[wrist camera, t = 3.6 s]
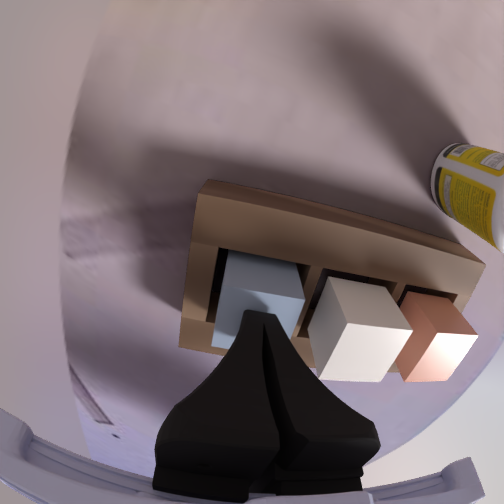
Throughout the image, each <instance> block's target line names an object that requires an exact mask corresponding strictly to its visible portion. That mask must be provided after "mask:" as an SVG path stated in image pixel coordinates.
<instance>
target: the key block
mask: <svg viewBox="0 0 504 504" xmlns="http://www.w3.org/2000/svg"><path fill="white" fill-rule="evenodd" d="M220 248H225V249H230V250H235V251H240V252H245V253H251V254H256V255H261V256H266V257H271V258H276V259H281V260H286V261H291V262H296V266H297V270H298V274H299V277H300V281H301V285H302V289H303V293H304V297H305V302H304V305H303V307H302V310H301V313H300V315H299V318H298V321H297V323H296V326H295V328H294V331H293V334H292V336H291V339H290V341H291V342H292V344H293V346H294V347H295V349H296V351H297V352H298V354H299V355H300V357H301V358H302V359H303V361H304V362H305V364H306V365H307V366H308V367H310V368H316V366H315V361H314V356H313V352H312V347H311V343H310V338H309V334H308V326H309V324H310V322H311V319H312V317H313V314H314V312H315V309H310V308H308V307H309V304H310V301H311V299H312V296H313V294H314V291H315V288H316V285H317V283H318V280H319V277H320V275H321V272H322V269H323V268H327V269H332V270H337V271H342V272H347V273H352V274H357V275H362V276H368V277H370V279H369V281H368V283H367V284H372V285H377V286H382V287H386V289H387V290H388V292H389V293H390V295H391V296H392V298H393V299H394V301H395V303H396V304H397V302H398V300H399V298H400V296H401V294H402V292H403V290H404V288H405V286H406V284H409V285H414V286H419V287H424V288H428V289H427V291H426V293H425V294H427V295H432V296H438V297H443V298H448V299H449V300H450V301H451V302H452V303H453V305H454V306H455V307H456V308H457V309H458V311H459V312H460V313H462V311H463V310H464V308H465V306H466V304H467V302H468V300H469V299H470V297H471V295H472V293H473V291H474V289H475V287H476V285H477V283H478V281H479V279H480V277H481V275H482V273H483V271H484V269H485V267H486V264H485V263H483V262H482V261H481V260H480V259H479V258H477V257H476V256H475V255H474V254H473V253H471V252H470V251H469V250H468V249H466V248H465V247H464V246H463V245H461V244H458V243H455V242H452V241H449V240H446V239H443V238H440V237H437V236H434V235H430V234H427V233H424V232H421V231H418V230H414V229H411V228H408V227H404V226H401V225H398V224H394V223H391V222H387V221H384V220H380V219H377V218H373V217H370V216H366V215H362V214H359V213H355V212H351V211H348V210H344V209H340V208H336V207H332V206H328V205H324V204H320V203H316V202H312V201H308V200H304V199H299V198H295V197H291V196H287V195H282V194H278V193H273V192H269V191H264V190H259V189H255V188H250V187H245V186H240V185H235V184H230V183H225V182H220V181H215V180H210V179H208V180H207V181H206V183H205V184H204V186H203V187H202V188H201V190H200V191H199V193H198V197H197V203H196V209H195V215H194V222H193V228H192V235H191V242H190V249H189V257H188V264H187V272H186V280H185V289H184V297H183V307H182V316H181V326H180V337H179V347H181V348H186V349H191V350H196V351H201V352H206V353H211V354H217V355H222V356H225V355H226V353H227V352H228V350H229V349H225V348H219V347H214V346H211V344H212V338H213V332H214V326H215V320H216V314H217V308H218V302H219V297H220V293H219V292H213V291H212V288H213V282H214V277H215V271H216V265H217V260H218V255H219V249H220ZM387 372H399V370H398V367H397V365H396V363H395V361H394V362H393V364H392V365H391V367H390V368H389V370H388V371H387Z"/></svg>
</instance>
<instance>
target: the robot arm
mask: <svg viewBox="0 0 504 504" xmlns="http://www.w3.org/2000/svg"><path fill="white" fill-rule="evenodd" d="M380 446H381V444H380V441H379V437H378V433H377V430H376V428H375V425H374V422H372V421H370V420H369V419H367V418H366V417H364V416H362V415H361V414H359V413H358V412H356V411H355V410H353V409H352V408H351V407H349V406H348V405H347V404H345V403H344V402H343V401H341V400H340V399H339V398H338V397H337V396H335V395H334V394H333V393H332V392H331V391H330V390H329V389H328V388H327V387H326V386H325V385H324V384H323V383H322V382H321V381H320V380H319V379H318V378H317V377H316V376H315V374H314V373H313V372H312V371H311V370H310V369H309V367H308V366H307V365H306V364H305V362H304V361H303V359H302V358H301V357H300V355H299V354H298V352H297V351H296V349H295V347H294V346H293V344H292V342H291V341H290V339H289V337H288V336H287V334H286V332H285V330H284V328H283V327H282V325H281V323H280V321H279V319H278V317H277V315H276V314H272V313H266V312H260V311H254V310H249V309H247V310H245V311H244V312H243V316H242V320H241V324H240V328H239V331H238V333H237V336H236V338H235V340H234V342H233V343H232V345H231V347H230V348H229V350H228V352H227V353H226V355H225V356H224V357H223V359H222V360H221V362H220V363H219V364H218V366H217V367H216V368H215V369H214V370H213V372H212V373H211V374H210V375H209V376H208V377H207V378H206V379H205V380H204V381H203V382H202V383H201V384H200V385H199V386H198V387H197V388H196V389H195V390H194V391H193V392H192V393H190V394H189V395H188V396H187V397H185V398H184V399H183V400H182V401H180V402H179V403H178V404H176V405H175V406H174V408H173V409H172V410H171V412H170V413H169V415H168V416H167V418H166V419H165V421H164V422H163V424H162V426H161V428H160V430H159V432H158V435H157V439H156V444H155V449H154V450H155V459H156V467H155V472H154V477H153V478H150V477H146V476H142V475H138V474H135V473H131V472H128V471H124V470H121V469H118V468H114V467H111V466H108V465H105V464H102V463H99V462H97V461H94V460H91V459H88V458H86V457H83V456H81V455H78V454H76V453H73V452H71V451H68V450H66V449H64V448H61V447H59V446H57V445H55V444H53V443H50V442H48V441H46V440H44V439H42V438H40V437H38V436H36V435H34V434H33V432H32V430H31V429H30V427H29V426H28V425H27V424H26V423H25V422H23V421H22V420H20V419H19V418H17V417H15V416H13V415H12V414H10V413H8V412H6V411H5V410H3V409H1V408H0V481H1V482H3V483H4V484H5V485H7V486H8V487H10V488H12V489H13V490H15V491H17V492H18V493H20V494H21V495H23V496H25V497H27V498H28V499H30V500H32V501H34V502H36V503H37V504H474V503H476V502H478V501H479V500H481V499H483V498H484V497H485V493H484V490H483V488H482V485H481V482H480V480H479V477H478V475H477V472H476V469H475V467H474V465H473V462H472V460H471V457H467V458H464V459H461V460H458V461H455V462H453V463H451V464H450V465H448V466H446V467H445V468H444V469H443V470H442V471H441V472H438V473H434V474H431V475H427V476H423V477H419V478H416V479H411V480H407V481H403V482H398V483H393V484H388V485H382V486H377V487H371V488H364V489H362V484H361V479H360V477H362V476H363V474H364V473H363V469H362V466H363V465H364V464H366V463H367V462H368V461H369V460H370V459H371V458H372V457H374V456H375V454H376V453H377V452H378V451H379V449H380Z"/></svg>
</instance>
